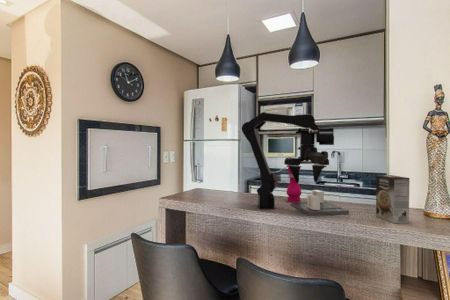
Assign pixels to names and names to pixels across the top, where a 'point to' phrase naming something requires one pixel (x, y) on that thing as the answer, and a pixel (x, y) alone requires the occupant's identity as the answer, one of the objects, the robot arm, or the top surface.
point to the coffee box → (392, 198)
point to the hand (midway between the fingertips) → (306, 182)
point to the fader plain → (319, 195)
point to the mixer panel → (325, 209)
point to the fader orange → (313, 202)
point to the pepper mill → (293, 189)
